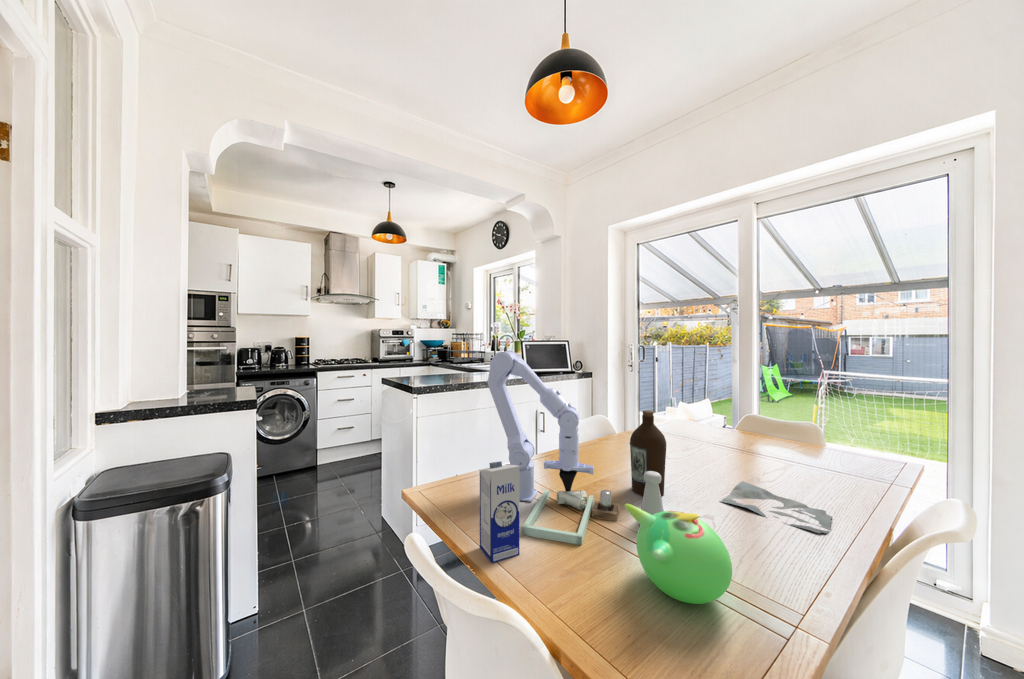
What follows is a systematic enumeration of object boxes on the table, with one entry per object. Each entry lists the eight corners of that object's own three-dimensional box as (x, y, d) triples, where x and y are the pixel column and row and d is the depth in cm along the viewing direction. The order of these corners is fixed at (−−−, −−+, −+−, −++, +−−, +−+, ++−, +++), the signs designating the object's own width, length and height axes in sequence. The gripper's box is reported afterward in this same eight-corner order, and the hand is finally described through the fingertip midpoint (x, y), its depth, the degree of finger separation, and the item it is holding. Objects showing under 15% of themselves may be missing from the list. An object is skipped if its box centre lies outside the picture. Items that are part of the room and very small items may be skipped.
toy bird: (753, 622, 65) (754, 536, 64) (657, 628, 63) (657, 541, 63) (694, 559, 83) (694, 492, 82) (618, 563, 81) (618, 495, 81)
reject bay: (522, 534, 93) (522, 526, 93) (545, 495, 115) (545, 489, 115) (581, 545, 88) (581, 536, 88) (593, 502, 110) (593, 495, 110)
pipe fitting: (589, 513, 105) (584, 500, 111) (590, 499, 104) (584, 487, 111) (560, 513, 104) (556, 501, 111) (561, 500, 104) (557, 488, 111)
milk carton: (491, 563, 81) (490, 470, 81) (478, 547, 87) (478, 461, 87) (520, 554, 84) (520, 465, 84) (506, 540, 90) (506, 456, 90)
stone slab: (841, 522, 101) (842, 514, 101) (824, 544, 92) (825, 535, 91) (741, 487, 121) (742, 480, 120) (718, 502, 111) (719, 495, 111)
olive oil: (648, 482, 125) (649, 406, 125) (674, 495, 115) (674, 413, 115) (622, 488, 121) (622, 409, 120) (646, 501, 111) (646, 416, 111)
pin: (599, 515, 103) (600, 493, 103) (600, 510, 105) (601, 489, 105) (610, 516, 102) (610, 494, 102) (611, 512, 104) (611, 490, 104)
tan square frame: (592, 517, 102) (592, 510, 102) (594, 506, 108) (594, 500, 108) (616, 521, 100) (616, 514, 100) (618, 510, 106) (618, 503, 106)
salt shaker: (664, 519, 101) (664, 470, 100) (665, 529, 95) (665, 477, 95) (640, 515, 102) (640, 467, 102) (640, 525, 97) (640, 475, 97)
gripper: (541, 450, 111) (541, 497, 111) (592, 455, 106) (591, 504, 106) (547, 444, 117) (546, 487, 118) (594, 448, 113) (594, 494, 113)
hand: (568, 495), depth 112 cm, fingers closed
